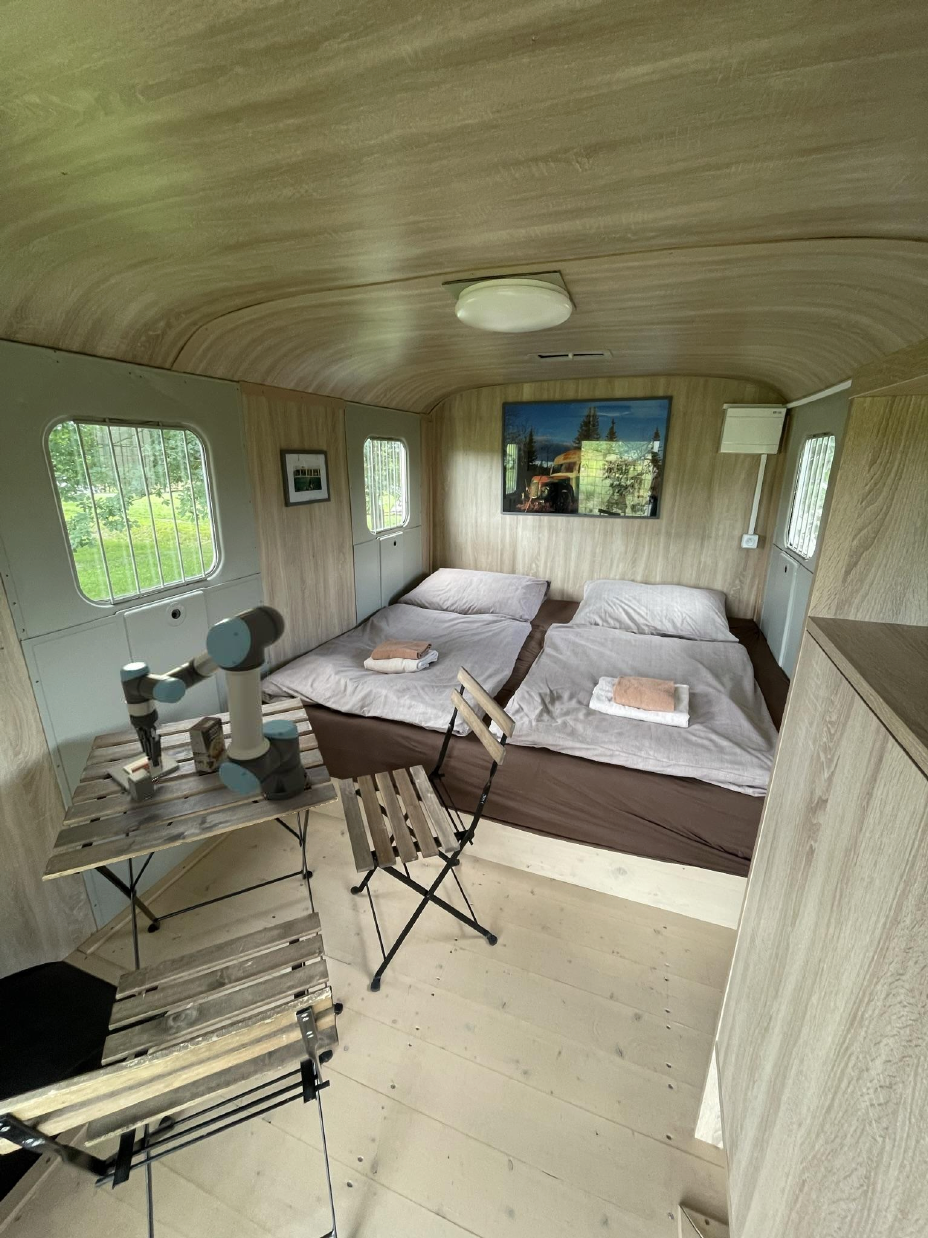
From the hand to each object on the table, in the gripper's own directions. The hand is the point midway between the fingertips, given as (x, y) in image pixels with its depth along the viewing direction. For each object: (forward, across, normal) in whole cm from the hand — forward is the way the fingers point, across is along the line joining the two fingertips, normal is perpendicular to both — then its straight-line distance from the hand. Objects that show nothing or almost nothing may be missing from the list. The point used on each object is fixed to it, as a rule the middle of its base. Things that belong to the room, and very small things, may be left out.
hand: (156, 773), depth 164 cm
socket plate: (+4, +10, 0) cm, 10 cm away
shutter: (+2, +10, 0) cm, 10 cm away
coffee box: (+4, -4, -16) cm, 17 cm away
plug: (+4, -3, +6) cm, 8 cm away
